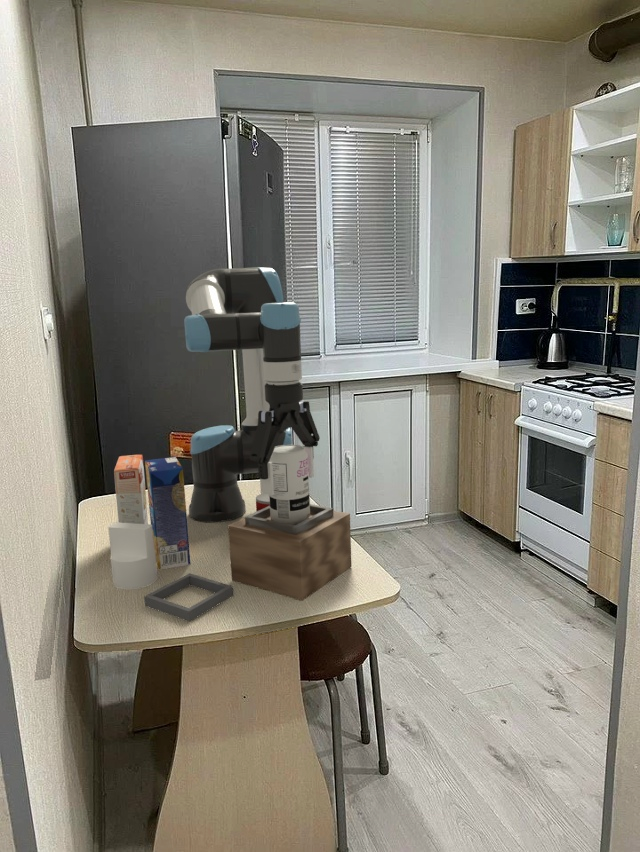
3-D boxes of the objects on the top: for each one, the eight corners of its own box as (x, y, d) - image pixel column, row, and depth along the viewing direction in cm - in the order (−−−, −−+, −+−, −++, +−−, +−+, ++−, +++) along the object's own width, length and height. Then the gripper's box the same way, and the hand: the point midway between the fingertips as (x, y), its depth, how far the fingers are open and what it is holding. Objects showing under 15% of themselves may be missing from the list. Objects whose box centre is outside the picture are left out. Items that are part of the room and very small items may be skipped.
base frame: (190, 582, 136) (189, 573, 135) (233, 595, 129) (233, 586, 129) (145, 605, 126) (144, 596, 126) (189, 621, 119) (188, 611, 119)
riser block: (284, 550, 150) (281, 494, 147) (351, 566, 140) (349, 506, 137) (231, 580, 136) (227, 518, 133) (302, 600, 126) (299, 534, 123)
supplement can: (270, 513, 139) (266, 445, 136) (309, 511, 140) (306, 443, 137) (270, 527, 131) (266, 454, 128) (311, 524, 132) (308, 452, 129)
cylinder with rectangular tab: (104, 587, 135) (98, 532, 132) (128, 569, 143) (122, 517, 141) (143, 591, 132) (138, 535, 130) (165, 572, 141) (160, 519, 138)
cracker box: (148, 555, 150) (140, 467, 146) (121, 558, 149) (111, 470, 145) (150, 534, 164) (143, 453, 160) (125, 536, 163) (117, 455, 159)
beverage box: (183, 547, 155) (175, 456, 150) (190, 564, 145) (182, 468, 140) (153, 552, 152) (144, 460, 148) (159, 569, 142) (150, 472, 138)
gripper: (257, 392, 118) (263, 505, 122) (333, 374, 138) (336, 472, 142) (226, 390, 122) (233, 499, 126) (304, 373, 142) (308, 467, 146)
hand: (288, 485), depth 134 cm, fingers open, 13 cm apart
